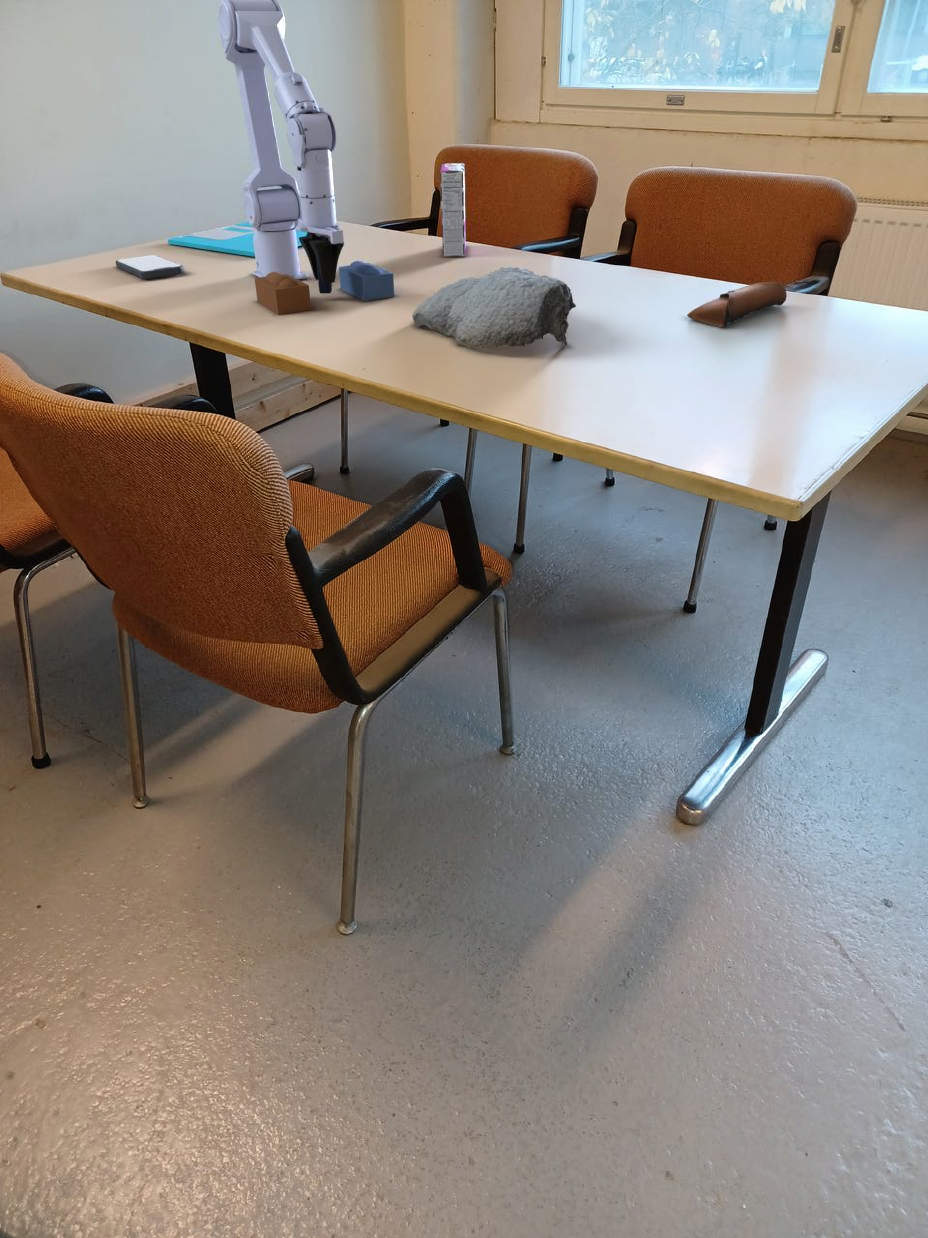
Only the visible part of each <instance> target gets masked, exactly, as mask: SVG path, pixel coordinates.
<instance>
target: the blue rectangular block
mask: <svg viewBox="0 0 928 1238" xmlns="http://www.w3.org/2000/svg"><path fill="white" fill-rule="evenodd" d="M338 274H339V286H340V287H339V288H340V290H341V291H343V292H345V293H346V294H349V295H351V296H353V297H355V298H357V299H359V300H361V301H363V302H368V301H369V302H370V301H375V300H382V299H388V298H394V297H395V281H394V280H395V279H394V273H393V272H391V271H389V270H386V269H383V268H381V267H379V266H377V265H374V264H371V263H369V262H364V261H362V260H355V261H353V262H351V263H350V264H349V265H343V266H338Z"/></svg>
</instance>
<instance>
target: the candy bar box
mask: <svg viewBox="0 0 928 1238" xmlns="http://www.w3.org/2000/svg"><path fill="white" fill-rule="evenodd" d="M439 176H440V206H441V207H440V210H441V237H442V238H441V240H442V257H443V258H463V257H464V258H465V257H466V248H467V247H466V246H467V245H466V242H467V241H466V240H467V239H466V237H467V236H466V184H465V183H466V181H465V179H466V177H465V163H462V162H461V163H460V162H459V163H458V162H457V163H455V162H453V163H447V162H446V163H442V164H441V169H440V171H439Z"/></svg>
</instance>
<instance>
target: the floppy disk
mask: <svg viewBox="0 0 928 1238" xmlns="http://www.w3.org/2000/svg"><path fill="white" fill-rule="evenodd" d="M256 230H257V229H255V228H253V227H252V226H251V225H250V224H249V222H248V221H247V222H239V223H235V224H229V225H225V226H221V227H216V228H211V229H207V230H203V231H198V232H197V231H196V232H194V233H189V234H188V233H187V234H186V235H182V236H181V237H180V236H175V237H171V238H167V243H168V244H169V245H175V246H182V247H189V248H195V249H202V250H208V251H215V252H221V253H227V254H235V255H241V256H247V257H253V258H255V251H254V244H253V237H254V234H255V231H256ZM306 234H307V232H305V231H304V232H300V231H297V228H296V238H297V247H301V246H302V244H301V243H300V241H299V237H303V236H306Z"/></svg>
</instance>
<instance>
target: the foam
mask: <svg viewBox="0 0 928 1238" xmlns="http://www.w3.org/2000/svg"><path fill="white" fill-rule="evenodd" d="M571 291H572V290H571V288H570V287H569V286H568V284H567V283H565V281H562V280H560V279H558V278H555V277H551V276H548V275H539V274H535V272H534V271H532V270H528V269H526V268H525V267H524V268H522V267H518V266H516V267H511V266H509V267H500V268H498V269H496V270H493V271H491V272H489V273H486V274H484V275H482V276H481V277H480V276H479V277H475V276H473V277H471V276H469V277H465V278H461V279H459V280H457V281H454V282H452V283H450V284H448V285H445V286H443V287H441V288H439V290H437V291H435V292H434V293H433V294H432V295H430V296H429V297H427V298H425V300H423V301H422V302H421V303H420V304H419V305H418V306H417V307H416V308H415V310H414V311H413V313H412V315H411V317H412V321H413V323H414V324H415V326H416V327H421V326H424V325H425V326H427V327H428V328H429V330H434V331H435V332H438V333H440V334H443V335H445V336H446V337H451V336H452V337H454V338H455V340H456V344H457V345H459V346H460V345H463V346H468V347H469V348H471V349H476V348H478V347H480V348H482V349H483V348H490V349H491V348H492V349H494V348H497V347H503V346H508V347H521V346H522V347H526V346H529V345H531V344H533V343H534V342H535V341H536V340H537V341H538V340H543V339H544V337H545V336H546V335H547V334H550V335H552V336H553V338H554V339H555V340H556V341H557V342H559V343H561V344H563V345H564V346H566V347H567V346H568V341H567V340H568V339H567V336H566V335H567V331H568V328H569V322H568V316H569V315H570V312H571V311H572V309H574V308H577V304H576V303H575V302H574V299H573V293H572V292H571Z"/></svg>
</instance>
